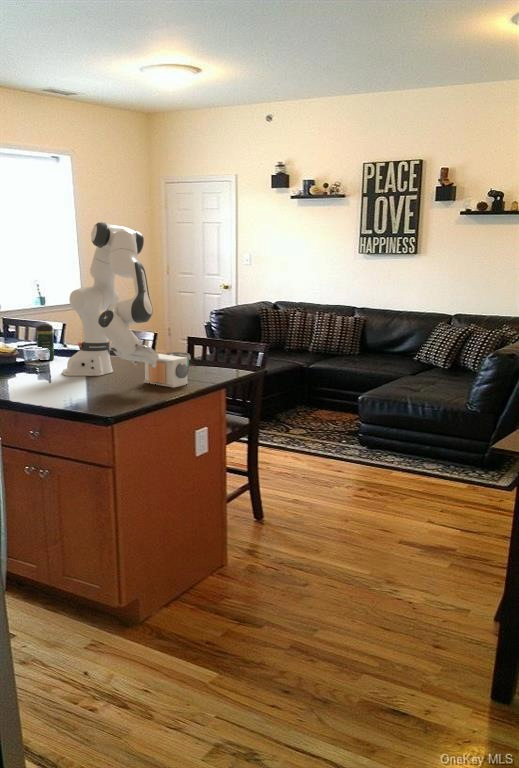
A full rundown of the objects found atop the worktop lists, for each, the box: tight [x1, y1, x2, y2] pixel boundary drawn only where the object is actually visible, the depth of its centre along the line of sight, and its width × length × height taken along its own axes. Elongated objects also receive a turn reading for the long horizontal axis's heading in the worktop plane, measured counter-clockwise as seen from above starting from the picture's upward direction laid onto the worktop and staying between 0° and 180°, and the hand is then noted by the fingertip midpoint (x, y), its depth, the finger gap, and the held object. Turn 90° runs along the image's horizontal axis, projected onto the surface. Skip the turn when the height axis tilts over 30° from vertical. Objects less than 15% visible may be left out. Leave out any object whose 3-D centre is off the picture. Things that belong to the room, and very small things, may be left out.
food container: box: [165, 351, 192, 377], centre depth 295 cm, size 12×6×10 cm, turn 65°
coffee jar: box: [36, 322, 55, 361], centre depth 327 cm, size 10×8×19 cm
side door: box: [148, 362, 166, 383], centre depth 269 cm, size 8×5×8 cm, turn 55°
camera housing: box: [143, 353, 189, 388], centre depth 274 cm, size 18×10×12 cm, turn 55°
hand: (146, 365), depth 264 cm, fingers open, 8 cm apart
